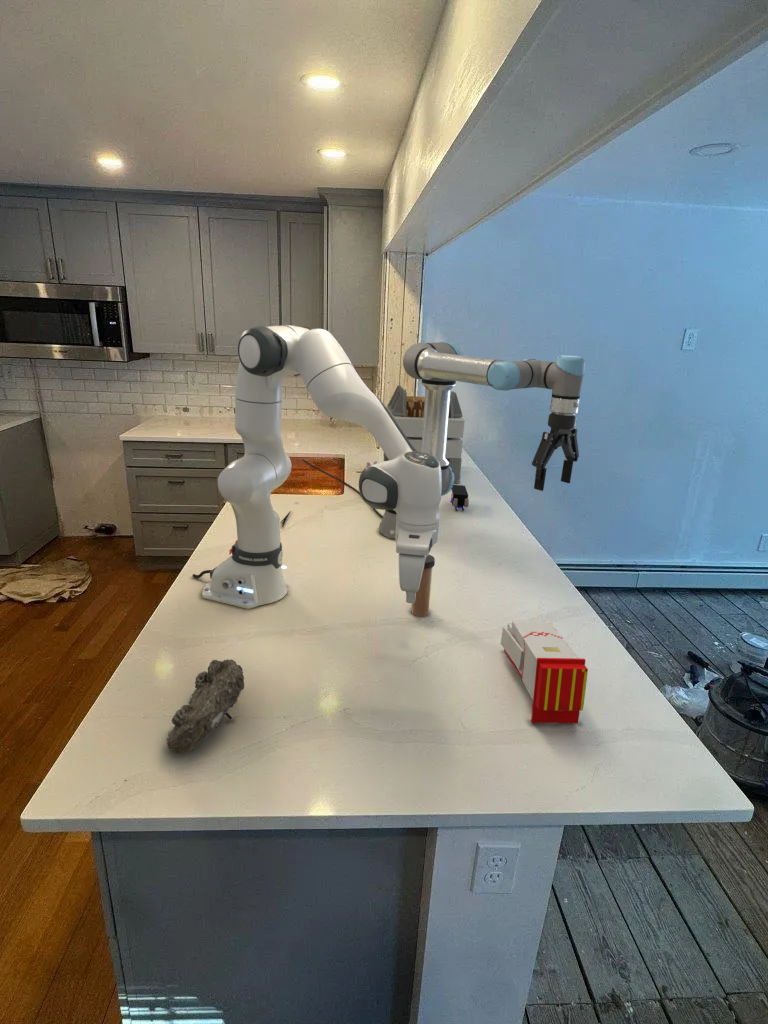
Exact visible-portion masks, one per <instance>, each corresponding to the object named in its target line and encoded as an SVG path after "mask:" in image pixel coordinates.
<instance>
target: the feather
mask: <svg viewBox="0 0 768 1024" xmlns="http://www.w3.org/2000/svg"><path fill="white" fill-rule="evenodd" d="M291 511H292V510H290V511H289V512H288V513H287V514H286V515H285V516H284V518H283V519H282V520H280V524H282V528H283V527H284V526H285V524H286V521H287V519H288V517H289V515H290V514H291Z"/></svg>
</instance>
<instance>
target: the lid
mask: <svg viewBox="0 0 768 1024" xmlns="http://www.w3.org/2000/svg"><path fill="white" fill-rule="evenodd" d="M435 564H436V560H435V557H434V556H433V555H432V554H429V555H428V556H427V557H426V560H425V565H424V569H429V568H432V569H433V567H435Z"/></svg>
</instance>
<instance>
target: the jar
mask: <svg viewBox="0 0 768 1024" xmlns="http://www.w3.org/2000/svg"><path fill="white" fill-rule="evenodd" d="M432 575H433V567H432V568H429V569H423V573H422V577H421V582H420V586H419V590H418V592H416V598H415V602H414V603H413V604H412V603H411V607H410V609H411V610H410V611H411V613H412V615H414V616H417V617H426V616H427V615H429V614H430V613H429V612H430V600H431V590H432V589H431V588H432Z"/></svg>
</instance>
